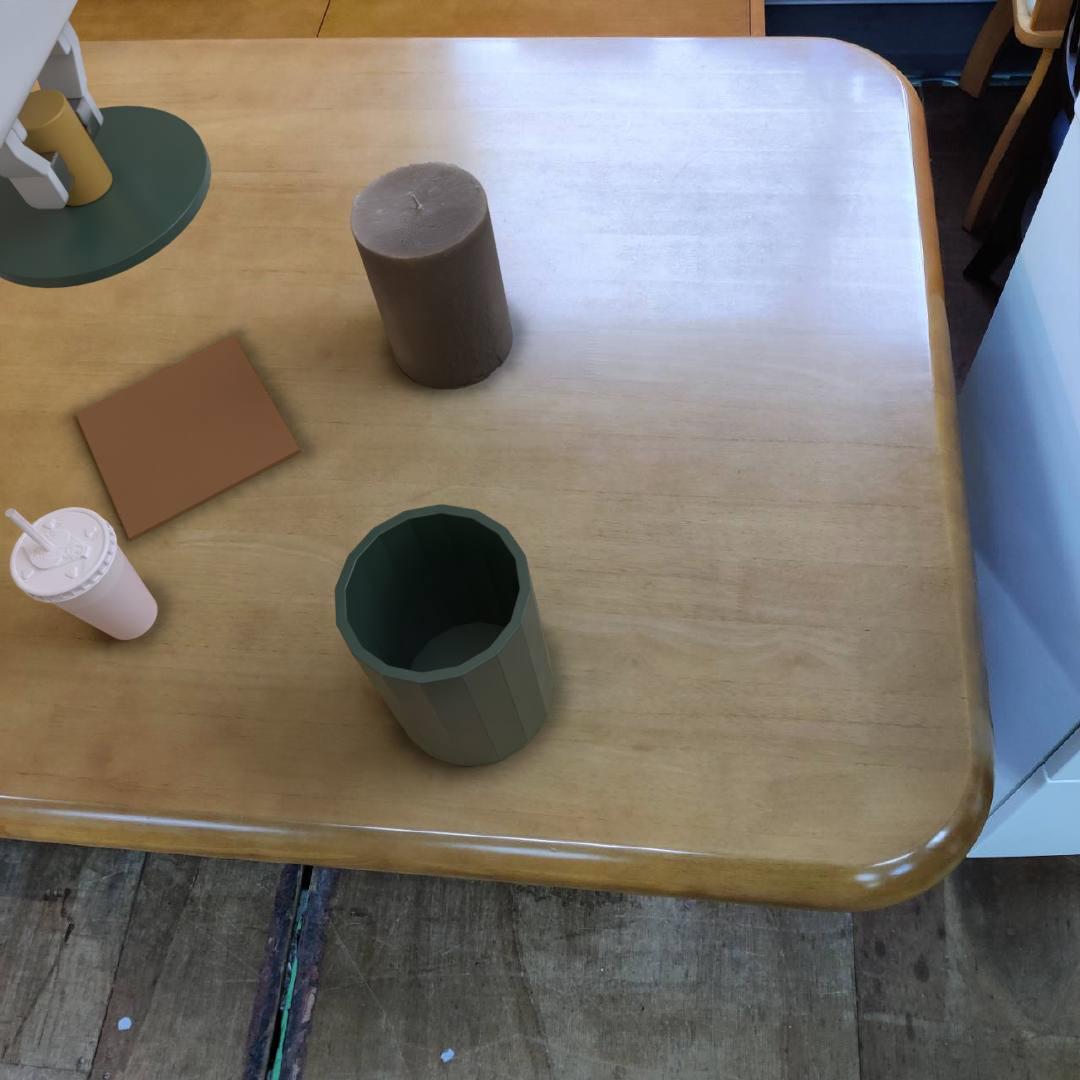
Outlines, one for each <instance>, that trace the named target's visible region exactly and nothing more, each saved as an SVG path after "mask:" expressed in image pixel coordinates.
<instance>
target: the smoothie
mask: <svg viewBox="0 0 1080 1080" xmlns="http://www.w3.org/2000/svg"><path fill="white" fill-rule="evenodd" d="M5 517H7V518H8V519H9V520H10V521H12V522H13V524H15V525H16V526H17V527H18V528H19V529H20V530H22V533H21V535H20V536H19V538H18V539H17V540H16V542H15V544H14V546H13V549H12V551H11V554H10V557H9V558H10V559H9V573H10V576H11V578H12V580H13V582H14V583H15V585H16V586H17V587H18V588H19V589H20V590H21V591H23V593H24V594H25V595H26V596H28V597H30V598H31V599H33V600H34V601H37V602H42V603H47V604H49V603H50V604H52V605H54V606H55V607H58V608H60V609H61V610H63V611H65V612H67V613H69V614H71V615H73V616H74V617H77V618H78V619H80V620H82V621H83V622H85V623H86V624H89V625H90V626H92V627H94V628H96V629H97V630H99V631H102V632H103V633H104V634H105V633H106V634H107V635H109V636H111V637H113V638H114V639H117V640H119V641H130V640H133V639H134V640H135V639H136V638H139V637H141V636H142V635H144V634H145V633H146V632H148V631H149V630H150V629H151V628H152V626H153V624H154V623H155V621H156V619H157V616H158V604H157V602H156V600H155V598H154V597H153V595H152V594H151V592H150V591H149V589H148V587H147V586H146V584H145V583H144V581H143V580H142V579H141V578H140V576H139V574H138V573H137V571H136V570H135V568H134V567H133V565H132V564H131V562H130V561H129V559H128V558H127V556H126V555H125V553H124V552H123V550H122V549H121V547H120V546H119V545H118V542H117V541H118V540H117V539H118V537H117V535H116V533H115V529H114V528H113V526H112V525H111V524H110V523H109V522H108V521H107V519H104V518H103V517H102V516H101V515H100V514H99V513H97V512H96V511H94V510H91V509H89V508H85V507H80V506H79V507H78V506H72V507H71V506H69V507H63V508H59V509H56V510H54V511H51V512H49V513H47V514H45V515H43V516H41V517H40V518H38V519H36V520H35V521H33V522H32V523H30V522H29V521H28V520H27V519H26V518H25V517H23V515H21V514H20V513H19V512H18V511H17V510H16V509H14V508H11V507H10V508H8V509H7V510H6V511H5Z"/></svg>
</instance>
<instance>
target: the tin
mask: <svg viewBox="0 0 1080 1080" xmlns="http://www.w3.org/2000/svg"><path fill="white" fill-rule="evenodd" d="M334 609H335V610H334V611H335V625H336V627H337V629H338V631H339V633H340V634H341V636H342V638H343V640H344V642H345V644H346V646H347V647H348V649H349V652H350V653H351V655H352V657H353V658H354V659H355V660H356V662H357V664H358V665H359V666H360V668H361V669H362V671H363V672H364V673H365V675H366V677H367V678H368V679H369V681H370V682H371V684H372V685H373V687H374V688H375V690H376V691H377V693H378V695H380V697H381V698H382V699H383V701H384V702H385V704H386V706H387V707H388V708H389V710H390V711H391V713H392V714H393V716H394V717H395V719H396V720H397V722H398V723H399V725H400V726H401V727H402V729H403V730H404V731H405V733H406V735H407V736H408V737H409V739H410V741H412V742H413V743H414V744H416V745H417V746H418V747H419V748H420V749H421V750H423V751H424V753H426V754H428V755H429V756H431V757H432V758H434V759H435V760H439V761H441V762H443V763H446V764H450V765H453V766H460V767H481V766H486V765H487V766H488V765H492V764H496V763H498V762H501V761H503V760H506V759H507V758H510V757H511V756H513V755H515V754H517V753H518V752H519V751H521V750H522V749H524V748H525V747H526V746H527V745H528V744H529V743H530V742H531V741H532V740H533V739H534V738H535V737H536V735H538V733H539V732H540V731H541V729H542V727H543V726H544V724H545V722H546V720H547V719H548V716H549V714H550V710H551V707H552V704H553V699H554V691H555V680H554V674H553V669H552V662H551V658H550V652H549V649H548V644H547V641H546V636H545V632H544V626H543V623H542V618H541V614H540V610H539V609H540V608H539V605H538V601H537V598H536V592H535V589H534V584H533V579H532V576H531V571H530V567H529V563H528V558H527V556H526V553H525V552H524V551H523V549H522V548H521V546H520V545H519V543H518V542H517V540H516V539H515V537H514V535H513V534H512V533H511V531H510V530H509V529H508V528H507V527H506V526H505V525H503V524H502V523H500V522H498V521H496V520H495V519H494V518H492V517H490V516H488V515H487V514H485V513H483V512H481V511H480V510H477V509H475V508H468V507H463V506H457V505H450V504H444V503H443V504H442V503H441V504H434V505H429V506H428V505H427V506H422V507H417V508H412V509H406V510H404V511H402V512H400V513H398V514H396V515H395V516H394V515H393V516H392V517H390V518H389V519H387V520H385V521H383V522H381V523H380V524H378V525H375V526H374V527H373V528H372V529H370V531H368V533H367V534H366V535H365V536H364V537H363V538H362V539H361V540H360V541H359V543H358V544H357V545H356V546H355V547H354V548H353V549H352V550H351V551H350V552H349V554H348V555H347V557H346V559H345V562H344V564H343V567H342V569H341V572H340V574H339V577H338V579H337V581H336V584H335V587H334Z"/></svg>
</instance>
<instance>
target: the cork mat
mask: <svg viewBox="0 0 1080 1080" xmlns="http://www.w3.org/2000/svg"><path fill="white" fill-rule="evenodd" d="M75 416H76V418H77V421H78V423H79V426H80V428H81V430H82V433H83V436H84V438H85V440H86V442H87V445H88V446H89V449H90V451H91V454H92V456H93V458H94V459H93V460H94V461H95V464H96V466H97V468H98V470H99V473H100V474H101V477H102V481H103V482H104V484H105V487H106V489H107V491H108V494H109V496H110V498H111V500H112V503H113V506H114V508H115V510H116V512H117V515H118V517H119V519H120V521H121V524H122V526H123V529H124V531H125V533H126V536H127V538H128V539H129V541H130V542H132V541H134V540H137V539H138V538H140V537H142V536H144V535H147V534H148V533H150V532H151V531H153V530H155V529H157V528H160V527H162V526H163V525H165V524H167V523H169V522H170V521H172V520H175V519H177V518H178V517H181V516H183V515H184V514H186V513H188V512H190V511H192V510H193V509H195V508H198V507H199V506H201V505H204V504H205V503H207V502H209V501H211V500H213V499H214V498H217V497H219V496H221V495H222V494H224V493H226V492H228V491H230V490H232V489H234V488H236V487H238V486H240V485H241V484H243V483H246V482H248V481H249V480H251V479H253V478H255V477H257V476H259V475H261V474H262V473H265V472H266V471H268V470H270V469H272V468H274V467H276V466H277V465H279V464H282V463H284V462H286V461H288V460H289V459H291V458H293V457H295V456H297V455H299V454H301V453H302V449H301V448H300V446H299V444H298V443H297V441H296V439H295V438H294V436H293V434H292V432H291V430H290V429H289V427H288V426H287V424H286V421H284V419H283V416H282V415H281V413H280V412H279V410H278V408H277V406H276V405H275V404H274V401H273V400H272V398H271V396H270V394H269V393H268V391H267V390H266V387H265V385H264V384H263V382H262V381H261V379H260V378H259V375H258V374H257V372H256V370H255V369H254V367H253V365H252V364H251V362H250V360H249V358H248V357H247V355H246V353H245V352H244V350H243V348H242V346H241V345H240V343H239V342H238V339H237V338H236V336H235V335H233V336H230V337H228V338H227V339H224V340H222V341H220V342H218V343H215V344H214V345H211V346H210V347H208V348H206V349H204V350H202V351H200V352H198V353H195V354H193V355H191V356H189V357H187V358H185V359H184V360H181V361H179V362H177V363H175V364H173V365H171V366H169V367H167V368H165V369H163V370H161V371H159V372H157V373H155V374H153V375H151V376H148V377H146V378H145V379H143V380H141V381H139V382H136V383H135V384H133V385H131V386H129V387H126V388H125V389H123V390H121V391H118V392H117V393H114V394H112V395H110V396H108V397H106V398H105V399H102V400H100V401H98V402H96V403H94V404H92V405H90V406H88V407H86V408H84V409H82V410H80V411H78V412H76V413H75Z"/></svg>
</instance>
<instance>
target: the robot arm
mask: <svg viewBox="0 0 1080 1080" xmlns="http://www.w3.org/2000/svg"><path fill="white" fill-rule="evenodd" d="M78 1H79V0H0V175H1V176H3V177H5V178H9V179H10V181H11V182H12V184H13V185H14V186H15V188H16V189H17V190H18V192H19V193H20V195H21V196H22V197H23V199H24V200H25V201H26V203H28V204H29V205H30V206H31V207H34V208H37V209H62V208H64V207H65V205H66V203H67V201H68V198H69V196H70V194H71V191H72V189H73V187H74V184H75V177H74V176H73V174H72V173H71V172H69V171H68V169H67V165H66V163H65V161H64V160H63V158H62V157H61V155H60V154H59V152H58V151H48V152H41V153H39V154H37V153H35V152H34V151H32V150H31V149H29V148H27V147H26V146H24V145H23V143H22V142H24V141H25V139H26V137H27V131H26V130H25V128H24V127H23V125H22V124H21V122H20V121H19V119H18V118H17V117H18V115H19V113H20V111H21V109H22V107H23V105H24V103H25V101H26V99H27V97H28V95H29V94H30V93H31V92H32V90H33V87H34V86H35V84H36V82H37V83H38V85H39V90H44V89H50V90H56V91H58V92H60V93H61V94H63V95H64V96H65V98H66V99H67V101H68V103H69V104H70V106H71V108H72V109H73V111H74V113H75V114H76V116H77V118H78V119H79V121H80V122H81V124H82V126H83V127H84V129H85V131H86V132H87V134H88V136H89V137H90V139H91V141H92V142H94V140H95V138H96V136H97V134H98V132H99V130H100V128H101V126H102V124H103V122H104V121H103V116H102V114H101V112H100V111H99V109H98V108H99V107H98V105H97V104H96V102H95V100H94V99H93V97H92V95H91V93H90V91H89V90H88V88H89V85H88V80H87V75H86V74H87V73H86V70H85V69H86V68H85V65H84V60H83V55H82V51H81V45H80V40H79V36H78V34H77V33H76V31H75V29H74V28H73V26H72V23H71V22H70V20H69V19H70V17H71V15H72V13H73V11H74V9H75V7H76V5H77V3H78Z"/></svg>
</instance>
